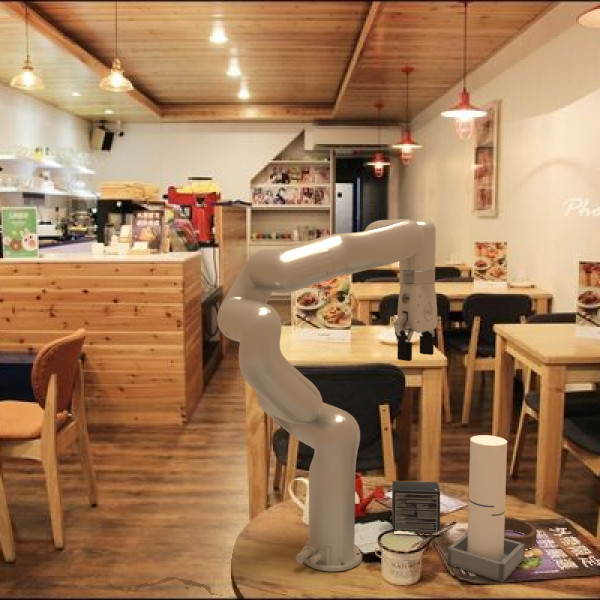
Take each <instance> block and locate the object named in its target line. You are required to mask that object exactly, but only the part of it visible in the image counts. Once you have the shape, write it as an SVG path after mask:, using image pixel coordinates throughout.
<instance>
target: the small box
mask: <svg viewBox="0 0 600 600" xmlns="http://www.w3.org/2000/svg"><path fill="white" fill-rule="evenodd" d="M391 486H392V487H391V489H392V491H391V492H392V494H391V495H392V497H391V500H392V503H391V509H392V510H391V514H392V515H391V518H392V519H391V522H392V523H391V528H392V527H393V529H392V531H393V530H408V531H417V532H421V533H424V534H433V533H436V532H438V531H441V489H440V486H439V483H438V482H437V481H406V480H404V481H403V480H397V481H396V480H392V485H391Z"/></svg>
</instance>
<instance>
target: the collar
mask: <svg viewBox="0 0 600 600" xmlns="http://www.w3.org/2000/svg"><path fill="white" fill-rule="evenodd" d="M504 530H513V531H517V532H521V533H524V534H525V535H521V536H518V535H506V534H504V538H506V539H509V540H513V541H516V542H520V543H523V544H525V549H529V548H532V547H533V546H535V544H536V545H537V543H538V542H537V539H538V538H537V537H538V530H537V529H536V527H535V525H533V524H531V523H530V522H529V521H527V520H523V519H519V518H516V517H508V516H507V517H506V516H505V525H504ZM535 547H536V546H535Z"/></svg>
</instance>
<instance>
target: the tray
mask: <svg viewBox="0 0 600 600" xmlns="http://www.w3.org/2000/svg"><path fill="white" fill-rule="evenodd" d="M467 547H468V531H467V532H466V533H465V534H463V535H462V536H461V537H459V539H456V541H455V542H453V543H452V544H451V545H450V546H448V547H447V559H446V562H447V563H446V565H447V564H450V565H452V566H451V567H453V566H456V567H459V568H462V569H464V570H463V571H465V570H466V572H468V571H469V573H471V572H472V573H471V574H475V575H478V576H480V577H484V578H487V579H490V580H493V581H496V582H500V583H504V582H505V580H506V579H508V578H509V577H510V576H511V575H512V574H513V573H514V571H515V570H516V569H517V568H518V567H519V566H520V565H521V564H522V563H523V562H524V561H525V552H526V551H525V544H523V543H520V542H516V541H513V540H509V539H506V538H504V557H503V561H502V562H498V561H494V560H491V559H488V558H485V557H481V556H478V555H475V554H472V553H468V552H467ZM523 560H524V561H523ZM522 561H523V562H522ZM521 562H522V563H521ZM520 563H521V564H520ZM519 564H520V565H519ZM450 565H449V566H450ZM518 565H519V566H518ZM517 566H518V567H517ZM456 567H455V568H456ZM516 567H517V568H516ZM459 568H458V569H459ZM462 569H461V570H462Z"/></svg>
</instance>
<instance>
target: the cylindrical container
mask: <svg viewBox="0 0 600 600" xmlns="http://www.w3.org/2000/svg"><path fill="white" fill-rule="evenodd" d="M469 443H470V444H469V479H468V481H469V483H468V513H467V514H468V515H467V516H468V517H467V518H468V519H467V520H468V521H467V532H468V547H467V552H468V553H472V554H475V555H478V556H481V557H485V558H488V559H491V560H494V561H498V562H502V561H503V557H504V535H505V531H504V525H505V517H506V516H505V515H506V489H507V487H506V486H507V484H506V483H507V454H508V440H506V439H505V438H504V437H499V436H495V435H487V434H485V435H482V434H481V435H473V436H472V437H470V440H469Z"/></svg>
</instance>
